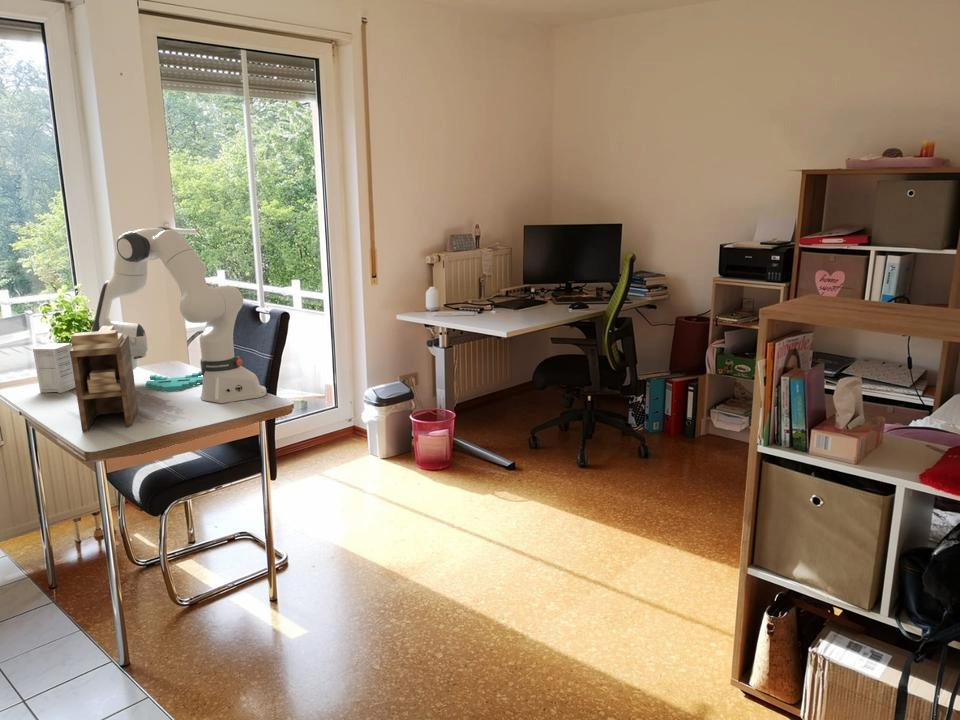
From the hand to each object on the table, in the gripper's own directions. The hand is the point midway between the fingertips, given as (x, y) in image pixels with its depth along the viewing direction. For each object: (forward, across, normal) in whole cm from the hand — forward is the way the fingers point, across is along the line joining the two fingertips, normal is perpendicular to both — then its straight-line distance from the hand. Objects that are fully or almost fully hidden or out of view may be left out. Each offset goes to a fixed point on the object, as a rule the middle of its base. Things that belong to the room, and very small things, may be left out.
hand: (112, 338), depth 257 cm
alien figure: (-26, +17, +12) cm, 33 cm away
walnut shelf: (+9, 0, +31) cm, 32 cm away
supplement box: (-33, -24, +7) cm, 41 cm away
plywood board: (+18, 0, +7) cm, 20 cm away
